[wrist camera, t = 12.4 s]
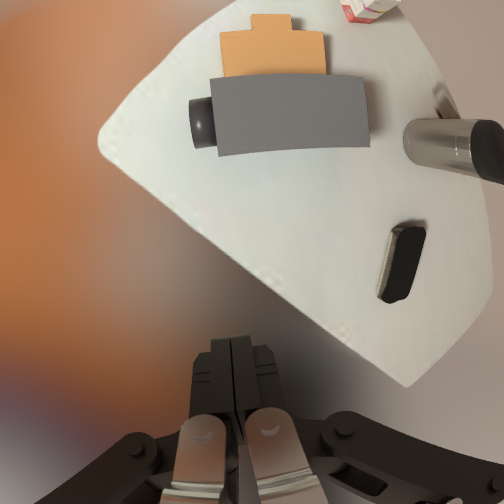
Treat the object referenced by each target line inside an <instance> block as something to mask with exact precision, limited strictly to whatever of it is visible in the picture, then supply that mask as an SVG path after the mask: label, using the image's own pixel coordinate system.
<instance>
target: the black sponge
mask: <svg viewBox="0 0 504 504" xmlns="http://www.w3.org/2000/svg"><path fill="white" fill-rule="evenodd" d="M425 238H426V231H425V229H424V227H409V228H408V227H402V226H398V227H396V228H394V229H393V230H392V231H391V233H390V237H389V241H388V245H387V250H386V256H385V260H384V264H383V268H382V272H381V276H380V280H379V284H378V287H377V292H376V294H377V297H378V298H379V299H381V300H382V301H384V302H386V303H388V304H391V303H394V302H396V301H399V300H403V299H405V298H406V297H407V296H408V295H409V292H410V289H411V286H412V283H413V280H414V277H415V274H416V270H417V267H418V263H419V260H420V256H421V252H422V248H423V244H424V241H425Z"/></svg>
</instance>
